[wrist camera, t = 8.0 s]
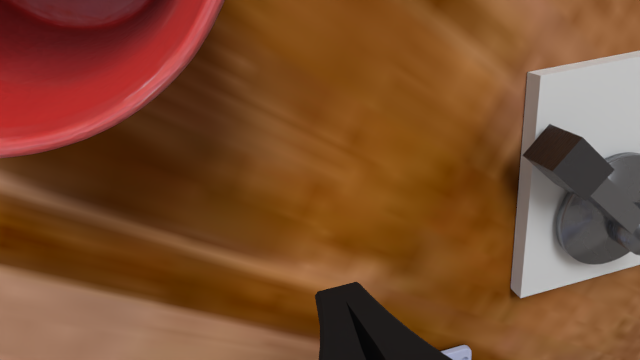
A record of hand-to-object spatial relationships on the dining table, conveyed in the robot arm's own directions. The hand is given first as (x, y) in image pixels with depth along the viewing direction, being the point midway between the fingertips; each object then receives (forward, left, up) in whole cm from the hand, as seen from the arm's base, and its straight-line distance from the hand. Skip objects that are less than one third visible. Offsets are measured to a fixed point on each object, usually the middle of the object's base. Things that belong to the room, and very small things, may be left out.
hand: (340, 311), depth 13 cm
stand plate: (-4, -20, -9) cm, 22 cm away
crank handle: (-4, -17, -8) cm, 19 cm away
